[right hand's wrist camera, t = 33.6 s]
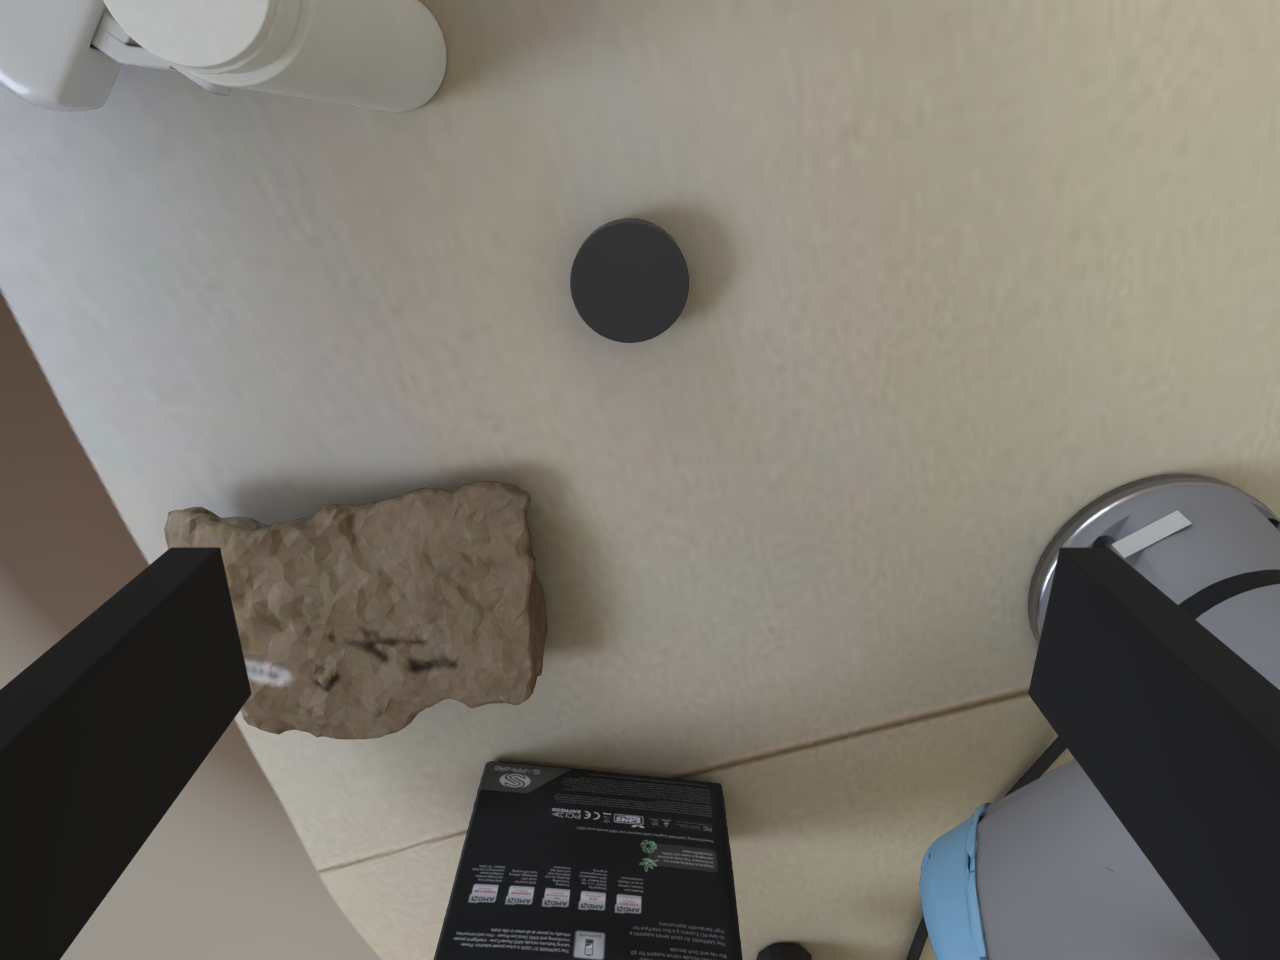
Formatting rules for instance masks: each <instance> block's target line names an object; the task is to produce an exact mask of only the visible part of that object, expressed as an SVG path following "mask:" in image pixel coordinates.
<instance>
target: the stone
mask: <svg viewBox="0 0 1280 960" xmlns="http://www.w3.org/2000/svg"><path fill="white" fill-rule="evenodd" d="M529 502H530V496H529V494H528V493H527V492H526V491H524V490H521V489H520V488H518V487H517V486H516V485H513V484H507V485H503V484H501V483H499V482H488V481H481V482H476V483H472V484H466V485H464V486H462V487H461V488H459V489H457V490H455V491H453V492H450V491H447V490H444V489H431V488H422V489H418V490H414V491H411V492H409V493H407V494H405V495H403V496H401V497H396V498H390V499H386V500H383V501H380V502H378V503H368V504H364V505H361V506H353V505H336V504H327V505H324V506H322V507H321V508H320V510H319V511H318V512H317V513H316V514H315V515H314V516H313V517H311V518H310V519H302V518H300V519H297V520H294V521H291V522H287V523H273V524H272V525H270V526H267V525H264V524H262V523H260V522H258V521H255V520H254V519H252V518H245V517H229V518H220V517H218V516H217V515H215V514H214V513H213V512H211V511H209V510H207V509H205V508H203V507H192V508H188V509H184V510H174V511H171V512H169V513H168V520H167V523H166V526H165V529H164V530H165V537H166V541H167V545H168V550H169V549H170V548H171V547H220V549H221V554H222V559H223V563H224V568H225V572H226V577H227V582H228V586H229V591H230V596H231V600H232V605H233V610H234V614H235V619H236V623H237V628H238V633H239V637H240V642H241V647H242V651H243V656H244V661H245V665H246V670H247V675H248V679H249V684H250V688H251V693H252V694H251V695H250V697H249V698H248V700H247V701H246V702H245V704H244V705H243V707H242V708H241V709H240V710H241V712H242V714H243V718H244V720H245V721H246V722H247V724H249V725H252V726H255V727H257V728H259V729H261V730H264V731H267V732H270V733H275V734H281V733H282V732H284V731H288V730H300V731H305V732H309V733H311V734H313V735H314V736H316V737H321V736H325V737H330V738H335V739H369V738H379V737H382V736H384V735H387V734H391V733H394V732H398V731H399V730H401V729H403V728H404V727H406V726H407V725H408V724H410V723H411V722H412V720H413V719H414V718H415V716H416V715H417V714H418V713H419V712H420V711H422V710H424V709H425V708H427V707H431V706H433V705H435V704H436V703H438V702H439V701H441V700H444V699H447V698H451V699H454V700H457V701H460V702H462V703H465V704H466V705H467V706H468V707H470V708H474V707H478V706H481V705H485V704H489V703H509V704H513V705H517V704H521V703H522V702H524V701H525V700H527V699H528V698H529V697H530V696H531V694H532V693H533V690H534V688H535V684H536V679H537V676H540V675H541V673H542V667H543V651H544V642H545V636H546V632H547V621H546V611H545V601H544V596H543V590H542V588H541V586H540V584H539V582H538V580H537V578H536V576H535V573H534V564H535V562H534V561H535V557H534V555H533V553H532V549H531V536H530V533H529V529H528V523H527V511H526V509H527V507H528V505H529Z"/></svg>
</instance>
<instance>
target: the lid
mask: <svg viewBox="0 0 1280 960" xmlns="http://www.w3.org/2000/svg"><path fill="white" fill-rule="evenodd" d="M570 286H571V294H572V298H573V301H574V304H575V307H576V309H577V311H578V313H579V314H580V316H581V317H582V319H583V320H584V321H585V322H586V324H587V325H588V326H589V327H590V328H592V329H593V330H594V331H595V332H597V333H598V334H600V335H602V336H604V337H606V338H608V339H611V340H614V341H618V342H625V343H634V342H641V341H646V340H649V339H652V338H654V337H656V336H658V335H660V334H661V333H663V332H664V331H666V330H667V329H668V328H669V327H670V326H671V325H672V324H673V323H674V322H675V321H676V319H677V318H678V317H679V315H680V314H681V312H682V310H683V308H684V305H685V303H686V300H687V295H688V289H689V276H688V270H687V266H686V263H685V260H684V258H683V255H682V253H681V251H680V249H679V247H678V246H677V244H676V242H675V241H674V240H673V239H672V238H671V236H670V235H669V234H667V233H666V232H665V231H664V230H663V229H661V228H660V227H658V226H656V225H654V224H652V223H650V222H647V221H644V220H639V219H620V220H615V221H612V222H609V223H607V224H605V225H603V226H601V227H600V228H598V229H597V230H595V231H594V232H593V233H592V234H591V235H590V236H589V237H588V238H587V239H586V240H585V242H584V243H583V245H582V246H581V248H580V250H579V252H578V253H577V256H576V258H575V260H574V263H573V266H572V271H571V279H570Z"/></svg>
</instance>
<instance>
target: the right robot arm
mask: <svg viewBox="0 0 1280 960" xmlns="http://www.w3.org/2000/svg"><path fill="white" fill-rule="evenodd" d="M1028 612H1029V620H1030V625H1031V629H1032V631H1033V634H1034V637H1035V639H1036V641H1037V643H1038V644H1039V647H1038V651H1037V656H1036V661H1035V665H1034V670H1033V675H1032V679H1031V684H1030V688H1029V693H1028V694H1029V695H1030V697H1031V698H1032V700H1033V701H1034V702H1035V704H1036V705H1037V707H1038V708H1039V709H1040V711H1041V712H1042V713H1043V715H1044V716H1045V718H1046V719H1047V720H1048V722H1049V723H1050V725H1051V726H1052V727H1053V729H1054V730H1055V731H1056V733H1057V734H1058V736H1059V737H1058V738H1057V739H1056V740H1055V741H1054V742H1053V743H1052V744H1051V745H1050V746H1049V748H1048V749H1047V750H1046V751H1045V752H1044V753H1043V754H1042V755H1041V757H1040V758H1039V759H1038V760H1037V761H1036V762H1035V763H1034V764H1033V766H1032V767H1031V768H1030V769H1029V770H1028V771H1027V772H1026V773H1025V774H1024V776H1023V777H1022V778H1021V779H1020V780H1019V781H1018V782H1017V783H1016V784H1015V785H1014V786H1013V788H1012V789H1011V790H1010V791H1009V792H1008V793H1007V794H1006V795H1005V796H1004V798H1002V799H1000V800H998V801H996V802H994V803H991V804H989V803H986V804H984V805H982V806H980V807H979V808H978V809H977V810H976V811H975V812H974V814H973V816H972V817H971V818H970V819H968V820H966V821H965V822H963V823H962V824H960V825H959V826H957V827H955V828H954V829H952V830H951V831H949V832H948V833H946V834H944V835H943V836H941V837H940V838H938V839H937V840H936V841H934V842H933V843H932V844H931V845H930V847H929V848H928V850H927V851H926V853H925V855H924V859H923V863H922V866H921V876H920V896H921V903H922V909H923V914H924V916H923V918H922V920H921V922H920V925H919V927H918V929H917V932H916V934H915V937H914V940H913V943H912V945H911V948H910V951H909V954H908V957H907V960H919V958H920V955H921V952H922V950H923V947H924V944H925V942H926V939H927V937H928V935H929V938H930V942H931V945H932V948H933V951H934V954H935V957H936V960H1280V519H1279V518H1278V517H1277V516H1276V515H1275V514H1274V513H1273V512H1272V511H1271V510H1270V509H1269V508H1268V507H1266V506H1265V505H1264V504H1263V503H1261V502H1260V501H1258V500H1257V499H1255V498H1254V497H1252V496H1250V495H1248V494H1247V493H1245V492H1243V491H1241V490H1239V489H1238V488H1236V487H1234V486H1232V485H1230V484H1228V483H1226V482H1223V481H1220V480H1217V479H1214V478H1209V477H1205V476H1199V475H1189V474H1174V475H1163V476H1156V477H1151V478H1147V479H1142V480H1139V481H1136V482H1133V483H1130V484H1127V485H1124V486H1122V487H1119V488H1117V489H1115V490H1113V491H1111V492H1109V493H1107V494H1105V495H1103V496H1101V497H1100V498H1098V499H1096V500H1095V501H1093V502H1092V503H1090V504H1089V505H1087V506H1086V507H1085V508H1083V509H1082V510H1081V511H1079V512H1078V513H1077V514H1076V515H1075V516H1073V517H1072V518H1071V519H1070V520H1069V521H1068V522H1067V523H1066V524H1065V525H1064V526H1063V527H1062V528H1061V529H1060V530H1059V532H1058V533H1057V534H1056V535H1055V536H1054V538H1053V539H1052V540H1051V542H1050V543H1049V545H1048V546H1047V548H1046V549H1045V551H1044V553H1043V554H1042V556H1041V558H1040V560H1039V562H1038V564H1037V566H1036V569H1035V572H1034V574H1033V577H1032V581H1031V585H1030V590H1029V597H1028ZM251 694H252V693H251V688H250V684H249V679H248V675H247V670H246V665H245V661H244V656H243V651H242V647H241V642H240V637H239V633H238V628H237V623H236V619H235V614H234V610H233V605H232V600H231V596H230V591H229V586H228V582H227V577H226V572H225V568H224V563H223V559H222V554H221V549H220V547H171V548H170V549H169V550H167V551H166V552H165V553H164V554H163V555H161V556H160V557H159V558H158V559H157V560H156V561H154V562H153V563H152V564H151V565H150V566H148V567H147V568H146V569H145V570H144V571H142V572H141V573H140V574H139V575H138V576H136V577H135V578H134V579H133V580H132V581H130V582H129V583H128V584H127V585H126V586H124V587H123V588H122V589H121V590H120V591H118V592H117V593H116V594H115V595H114V596H112V597H111V598H110V599H109V600H108V601H106V602H105V603H104V604H103V605H102V606H100V607H99V608H98V609H97V610H96V611H94V612H93V613H92V614H91V615H90V616H88V617H87V618H86V619H85V620H84V621H83V622H81V623H80V624H79V625H78V626H76V627H75V628H74V629H73V630H72V631H70V632H69V633H68V634H67V635H66V636H64V637H63V638H62V639H61V640H60V641H58V642H57V643H56V644H55V645H54V646H53V647H51V648H50V649H49V650H48V651H46V652H45V653H44V654H43V655H42V656H41V657H39V658H38V659H37V660H36V661H35V662H33V663H32V664H31V665H30V666H29V667H27V668H26V669H25V670H24V671H23V672H21V673H20V674H19V675H18V676H17V677H15V678H14V679H13V680H12V681H11V682H9V683H8V684H7V685H6V686H5V687H3V688H2V689H1V690H0V960H60V958H61V957H62V956H63V954H64V953H65V952H66V950H67V949H68V947H69V946H70V945H71V943H72V942H73V941H74V939H75V938H76V936H77V935H78V934H79V932H80V931H81V929H82V928H83V927H84V925H85V924H86V923H87V921H88V920H89V918H90V917H91V916H92V914H93V913H94V911H95V910H96V909H97V907H98V906H99V904H100V903H101V902H102V900H103V899H104V898H105V896H106V895H107V893H108V892H109V891H110V889H111V888H112V886H113V885H114V884H115V882H116V881H117V880H118V878H119V877H120V875H121V874H122V873H123V871H124V870H125V869H126V867H127V866H128V864H129V863H130V862H131V860H132V859H133V857H134V856H135V855H136V853H137V852H138V850H139V849H140V848H141V846H142V845H143V844H144V842H145V841H146V839H147V838H148V837H149V835H150V834H151V833H152V831H153V830H154V828H155V827H156V826H157V824H158V823H159V821H160V820H161V819H162V817H163V816H164V815H165V813H166V812H167V810H168V809H169V808H170V806H171V805H172V803H173V802H174V801H175V799H176V798H177V796H178V795H179V794H180V792H181V791H182V790H183V788H184V787H185V785H186V784H187V783H188V781H189V780H190V779H191V777H192V776H193V774H194V773H195V772H196V770H197V769H198V767H199V766H200V765H201V763H202V762H203V760H204V759H205V758H206V756H207V755H208V753H209V752H210V751H211V749H212V748H213V747H214V745H215V744H216V742H217V741H218V740H219V738H220V737H221V736H222V734H223V733H224V731H225V730H226V729H227V727H228V726H229V725H230V723H231V722H232V720H233V719H234V718H235V716H236V715H237V713H238V712H239V711H240V709H241V708H242V707H243V705H244V704H245V702H246V701H247V700H248V698H249V697H250V695H251ZM1066 748H1068V749H1069V751H1070V752H1071V754H1072V755H1073V756H1074V758H1075V759H1073V760H1071V761H1069V762H1068V763H1066V764H1064V765H1062V766H1060V767H1058V768H1057V769H1055V770H1053V771H1051V772H1049V773H1047V774H1046V775H1044V776H1042V774H1043V773H1044V772H1045V771H1046V770H1047V769H1048V768H1049V767H1050V766H1051V764H1052V763H1053V762H1054V761H1055V760H1056V759H1057V758H1058V757H1059V756H1060V755H1061V753H1062V752H1063V751H1064V750H1065V749H1066ZM1041 776H1042V777H1041Z"/></svg>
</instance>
